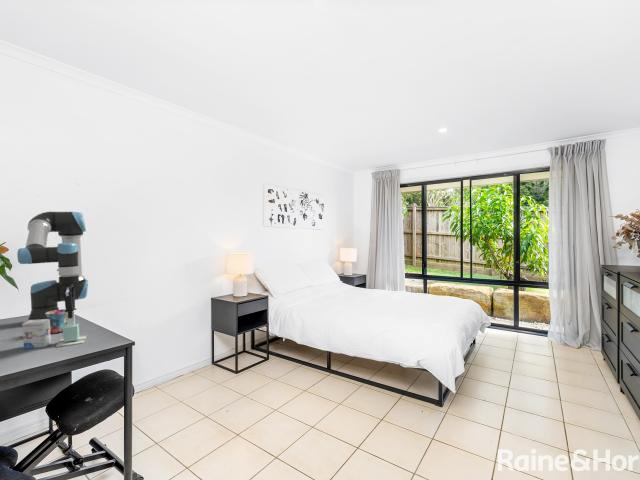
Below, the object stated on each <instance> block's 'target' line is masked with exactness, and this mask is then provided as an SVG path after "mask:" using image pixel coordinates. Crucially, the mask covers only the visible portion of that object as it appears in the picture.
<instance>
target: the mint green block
mask: <svg viewBox="0 0 640 480" xmlns="http://www.w3.org/2000/svg"><path fill="white" fill-rule="evenodd" d="M62 334H63V336H62V339H63V338H64V342H68V341H75V340H78V338H79V336H80V323H75V324H74V325H67V324H66V325H65V326H64V328H63V332H62Z"/></svg>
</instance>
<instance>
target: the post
mask: <svg viewBox="0 0 640 480" xmlns="http://www.w3.org/2000/svg"><path fill="white" fill-rule="evenodd" d="M87 336H88V335H87V334H86V335H79V338H78V340H75V341H68V342H64V338H63V337H62V338H60V340H59V341H58V343H57V344H56V346H55V348H63V347H68V346H69V347H70V346H74V345H80V344H81V345H82V344H83V343H84V342H85V340H86V339H87Z"/></svg>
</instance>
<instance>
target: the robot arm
mask: <svg viewBox="0 0 640 480" xmlns="http://www.w3.org/2000/svg"><path fill="white" fill-rule="evenodd" d="M85 223H86V222H85V218H84V215H83V213H82V212H77V211H46V212H45V211H44V212H42V213H39V214H37V215H35V216H34V217H32V218H31V219H30V220H29V221H28V223H27V230H28V234H27V239H26V244H25V247H21V248H20V247H19V248H18V249H17V252H16V253H17V254H16V255H17V262H18V264H20V265H32V264H45V263H46V264H48V263H57V264H58V265H57V267H58V268H57V269H56V271H57V272H58V280H56V279H51V280H45V281H40V282H36V283H33V284H32V285H31V286H30V293H29V294H30V306H31V310H30V313H29V316H28V319H27V321H29V320H41V319H48V318H47V316H46V314H45V313H46V312H49V311H54V310H60V308H59V305H58V303H59V302H64V308H65V309H66V310H65V312H67V317H66V322H67V324H66V325H74V324H76V318H75V317H76V315H75V311H77V308H76V301H78V300H83V299H85V298H86V297H87V295H88V288H89V279H86V276H85V275H83V270H82V269H83V268H82V248H81V244H82V243H81V237H83V235H84V233H85V232H87V229H86V224H85ZM49 233H58V236H59V237H60V238H61V242H60V243H57V246H47V243H48V237H49V236H48V235H49ZM57 281H58V282H57Z"/></svg>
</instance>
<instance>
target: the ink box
mask: <svg viewBox="0 0 640 480" xmlns="http://www.w3.org/2000/svg"><path fill="white" fill-rule="evenodd" d="M51 336H52V335H51V333H50V320H49V319H41V320H29V321H28V320H27V321H25V322H22V340H23V350H26V349H35V348H37V349H38V348H46V347H47V346H49V345H50V344H51V343H52V339H51Z"/></svg>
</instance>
